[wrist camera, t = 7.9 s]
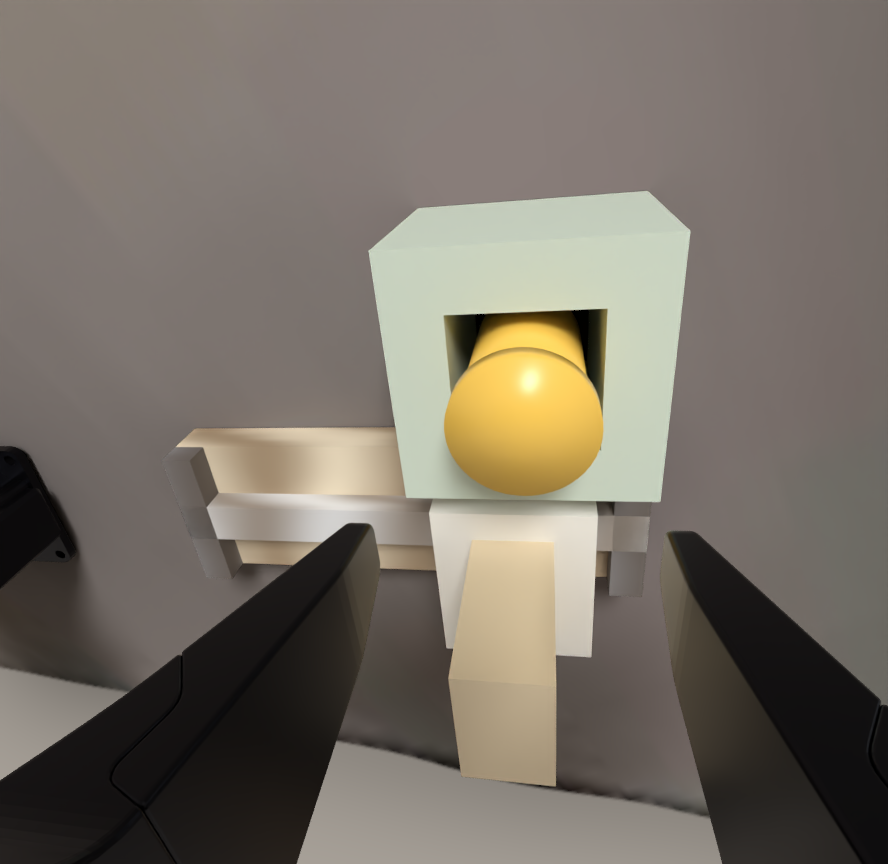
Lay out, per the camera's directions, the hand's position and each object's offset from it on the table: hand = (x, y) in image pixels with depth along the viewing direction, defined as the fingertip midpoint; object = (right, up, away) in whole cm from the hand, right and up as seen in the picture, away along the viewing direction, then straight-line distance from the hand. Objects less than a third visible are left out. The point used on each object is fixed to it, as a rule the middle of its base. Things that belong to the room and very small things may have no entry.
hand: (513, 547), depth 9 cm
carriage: (+2, -2, +12) cm, 12 cm away
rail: (-2, -1, +15) cm, 15 cm away
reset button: (+1, +5, +8) cm, 9 cm away
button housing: (+2, +6, +10) cm, 12 cm away
